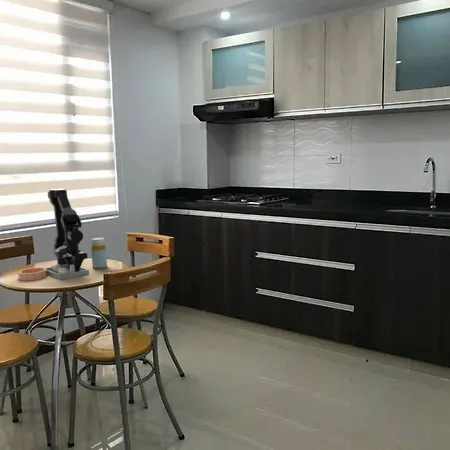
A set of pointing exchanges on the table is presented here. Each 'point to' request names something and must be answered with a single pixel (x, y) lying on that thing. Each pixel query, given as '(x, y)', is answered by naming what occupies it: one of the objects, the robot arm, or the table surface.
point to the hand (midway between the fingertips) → (74, 271)
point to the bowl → (32, 273)
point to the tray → (69, 275)
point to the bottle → (98, 253)
